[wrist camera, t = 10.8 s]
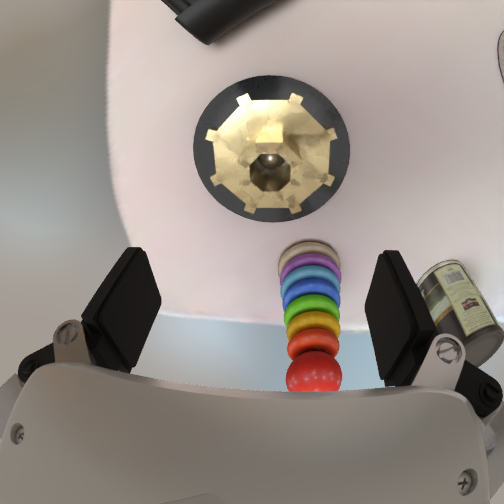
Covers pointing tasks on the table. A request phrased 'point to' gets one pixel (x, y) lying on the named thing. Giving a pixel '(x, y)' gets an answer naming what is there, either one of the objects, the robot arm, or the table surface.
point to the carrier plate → (271, 92)
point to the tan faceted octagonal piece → (271, 142)
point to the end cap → (213, 15)
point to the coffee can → (461, 310)
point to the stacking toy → (311, 316)
